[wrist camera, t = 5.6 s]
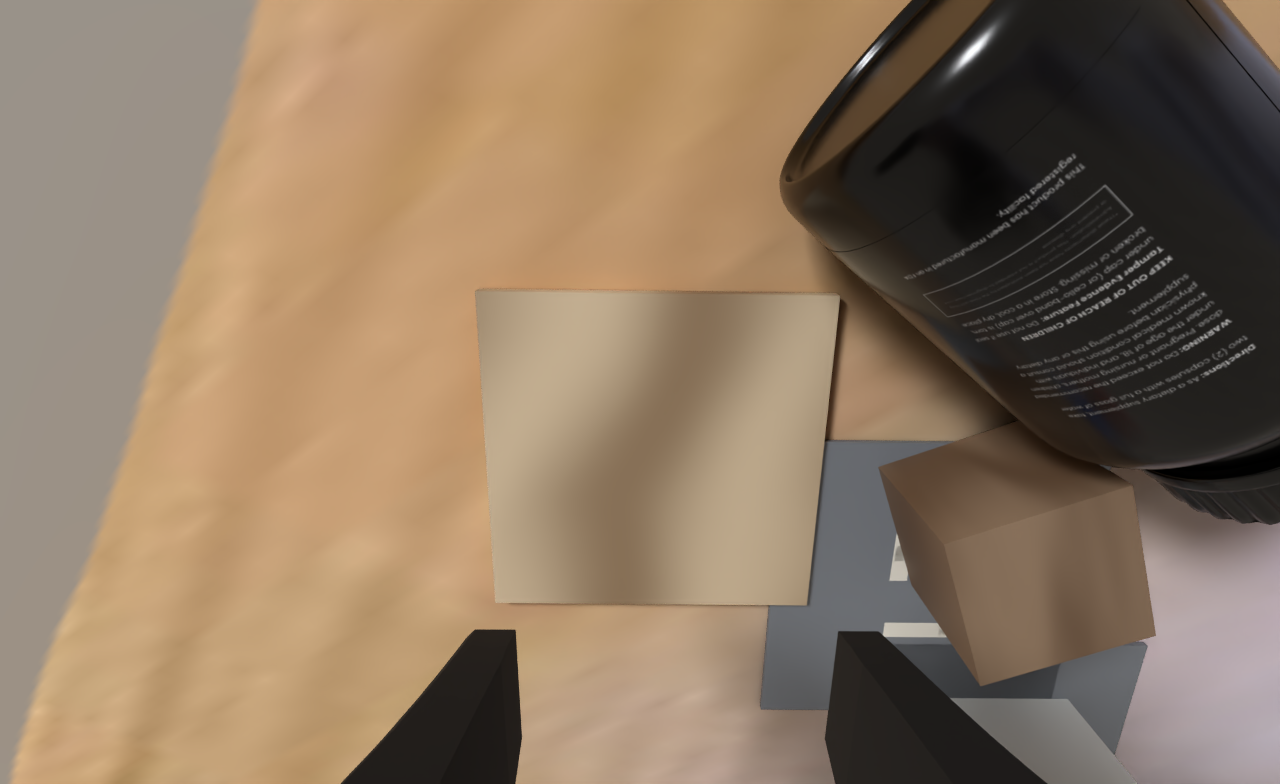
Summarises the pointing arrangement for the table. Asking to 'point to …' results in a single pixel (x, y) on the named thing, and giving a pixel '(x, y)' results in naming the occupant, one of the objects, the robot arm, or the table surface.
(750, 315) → the pad
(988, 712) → the grey block
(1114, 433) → the supplement bottle
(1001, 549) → the walnut block
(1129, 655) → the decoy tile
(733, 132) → the table surface
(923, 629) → the tile
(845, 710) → the robot arm
